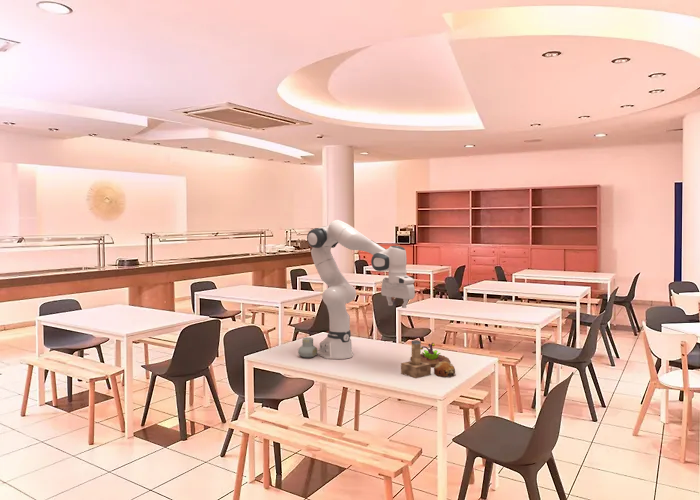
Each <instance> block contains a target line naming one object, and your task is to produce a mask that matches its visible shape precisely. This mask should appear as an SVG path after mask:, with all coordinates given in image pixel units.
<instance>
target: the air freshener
mask: <svg viewBox="0 0 700 500" xmlns="http://www.w3.org/2000/svg"><path fill="white" fill-rule="evenodd" d="M301 343H302V345H301V346H299V348H298V349H297V354H298V355H299V356H300V357H302V358H307V359H311V358H314V357H316V355H318V354H317V350H318V347H317V346H315V345H314V338H313V337H303V338H302V342H301Z"/></svg>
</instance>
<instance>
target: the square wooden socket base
mask: <svg viewBox="0 0 700 500" xmlns="http://www.w3.org/2000/svg"><path fill="white" fill-rule="evenodd" d="M431 372H432V368H431V364H428V363H425V362H421V361H420V365H412V364H411V360H409V361H405V362H401V363H400V374H401V375H405V376H408V377H411V378H413V379H419V378H422V377H425V376H430V375H432V373H431Z"/></svg>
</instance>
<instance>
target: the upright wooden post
mask: <svg viewBox="0 0 700 500" xmlns="http://www.w3.org/2000/svg"><path fill="white" fill-rule="evenodd" d="M421 344H422V343H421V340H418V339H414V340H411V357H412V359H411V360H410V361H411V364H412V365H420V354H421V353H422V352H421V351H422V350H421V347H422V345H421Z"/></svg>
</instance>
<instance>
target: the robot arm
mask: <svg viewBox="0 0 700 500" xmlns="http://www.w3.org/2000/svg"><path fill="white" fill-rule="evenodd" d="M306 241H307V244H308V246H310V247H311V251H310V254H311V259H312V261H313V265H314V266H315V268H316V270H317V273H318V275H319V277H320V279H321V281H322V282H323V283H325V284H326V285H327V288H326V289H325V290H324V291H323V293H322V296H321V297H322V301H323V302H324V303H323V304H324V305H326V309H327V312H328V317H329V319H328V320H329V330H327V331H326V332H325V333H326V334H327V335H326V337H325V338H324V339H323V340H321V342H320V343H319V347H318V348H319V349H317V354H316V355H318V356H320V357H322V358H324V359H326V360H327V359H328V360H330V359H331V360H332V359H334V360H344V359H345V360H346V359H350V358H352V357H353V355H354V351H353V348H352V347H353V346H352V339H351V334H352V333H351V329H350V328H351V326H350V324H351V323H350V322H351V320H350V319H351V316H350V315H349V313H348V311H347V307H346V304H349V303H351V302H352V301H353V300H355V298H356V296H357V290H356V288H355V287H354V286H353V285H352V284H350V283H349V281H348V280H347V278H345V276H344V275H343V273H342V272H341V271H340V268H339V267H338V265H337V262H336V261H335V260H336V259H335V258H334V257H333V254H332V252H331V249H334V248H335V247H336V246H337V244H339V245H341V246H342V247H344V248H346V249H349V250H351V251H362V252H366V253H369V254H371V256H372V257H371V260H370V261H371V263H370V264H371V267H372V269H374V270H375V271H376V272H387V271H388V277H384V278H383V279H382V283H381V288H380V294H381V296H382V297H386V300H387V304H388V305H387V306H391V307H392V306H393V305H394V302H393V301H392V298H395V299H402V300H403V303H402V304H401V308H403V309H406V308H407V304H408V302H409V300H413V299H414V298H415V295H416V292H415V289H416V288H415V285H414V283H415V279H414V278H413V277H411V276H409V275H407V264H408V263H407V260H408V259H407V251H406V248H405V247H403V246H399V245H390V246H389V247H388V248H385V247H383V246H382V245H380V244H378V243H377V242H375V241H373V240H372V239H370V238H369V237H367V236H366V235H364V234H363V233H362V232H360V231H359V230H357V229H356V228H355V227H354V226H352V225H351V224H349V223H347V222H344V221H342V220H341V219H334V220H332V221H331V222H330V223H329V225H326V226H325V225H324V226H320V227H318V228H317V227H315V228H313V229H311V230H309V231H308V233H307V237H306Z"/></svg>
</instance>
